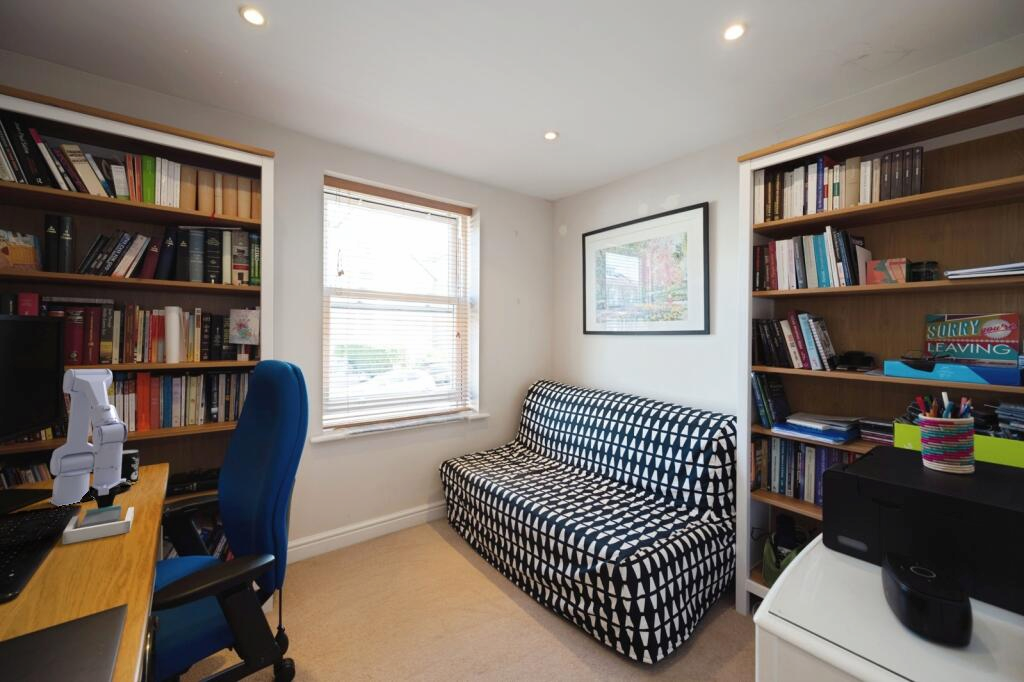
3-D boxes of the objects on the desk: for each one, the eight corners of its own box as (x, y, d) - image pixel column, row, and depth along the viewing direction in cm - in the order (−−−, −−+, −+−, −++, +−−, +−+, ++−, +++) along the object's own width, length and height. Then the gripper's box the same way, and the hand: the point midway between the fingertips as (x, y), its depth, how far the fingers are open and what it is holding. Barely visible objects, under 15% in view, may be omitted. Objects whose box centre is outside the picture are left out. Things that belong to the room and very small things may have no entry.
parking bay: (72, 527, 112) (72, 516, 112) (133, 517, 120) (134, 506, 120) (62, 544, 103) (63, 532, 103) (129, 532, 110) (130, 520, 110)
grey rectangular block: (86, 524, 114) (87, 510, 114) (120, 518, 119) (121, 504, 119) (79, 537, 107) (80, 521, 107) (116, 530, 111) (117, 515, 111)
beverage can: (125, 487, 145) (127, 453, 146) (107, 487, 146) (109, 453, 146) (142, 482, 152) (144, 449, 152) (125, 481, 152) (127, 449, 153)
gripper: (124, 469, 115) (121, 518, 114) (129, 458, 126) (126, 503, 126) (88, 473, 111) (85, 524, 110) (96, 462, 122) (93, 508, 121)
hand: (105, 513), depth 118 cm, fingers closed
